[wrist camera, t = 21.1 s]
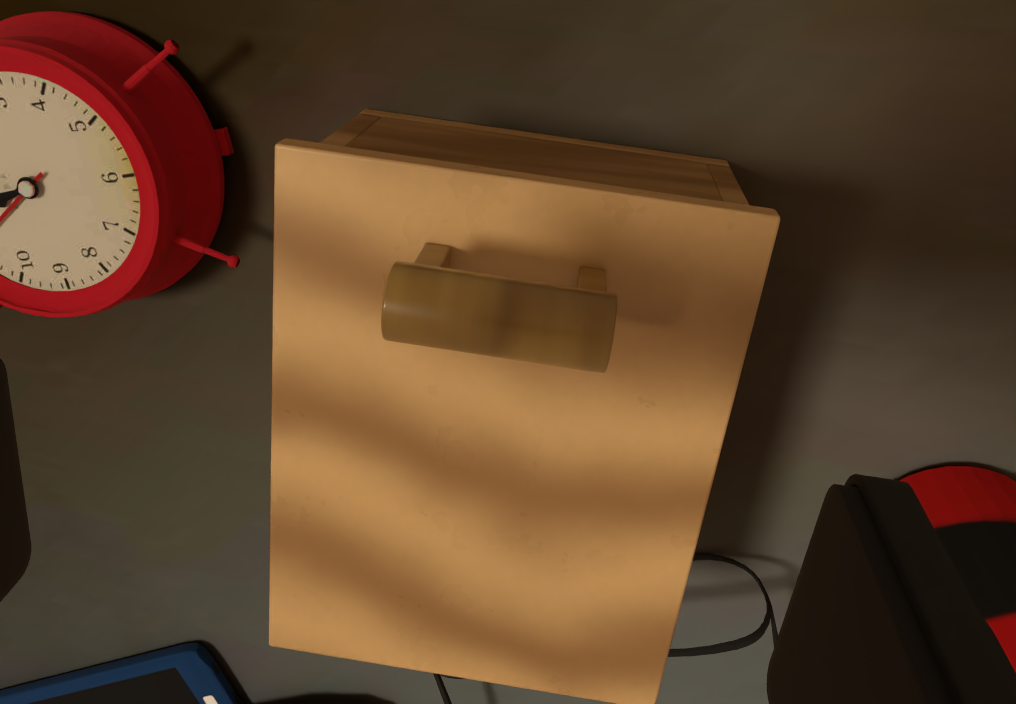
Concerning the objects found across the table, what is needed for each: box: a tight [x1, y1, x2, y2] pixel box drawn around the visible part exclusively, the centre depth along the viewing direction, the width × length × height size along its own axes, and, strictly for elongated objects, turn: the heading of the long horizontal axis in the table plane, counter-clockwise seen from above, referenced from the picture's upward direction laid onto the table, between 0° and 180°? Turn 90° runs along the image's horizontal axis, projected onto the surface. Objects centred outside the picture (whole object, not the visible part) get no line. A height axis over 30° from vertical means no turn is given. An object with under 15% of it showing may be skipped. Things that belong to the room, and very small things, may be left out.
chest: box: [320, 109, 749, 205], centre depth 31 cm, size 16×13×9 cm
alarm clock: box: [0, 11, 240, 317], centre depth 31 cm, size 10×6×15 cm
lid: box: [269, 138, 780, 704], centre depth 24 cm, size 16×13×5 cm
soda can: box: [899, 466, 1016, 672], centre depth 31 cm, size 8×8×12 cm
